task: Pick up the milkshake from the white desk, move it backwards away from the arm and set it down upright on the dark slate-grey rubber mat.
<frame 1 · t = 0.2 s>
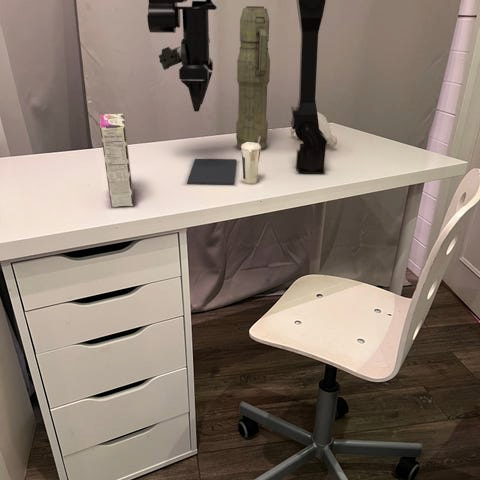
hand: (198, 107, 124), 15 cm above the table, tool pointing down, fingers open, 9 cm apart
mat: (213, 172, 129), on the table
milkshake: (251, 182, 123), on the table
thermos: (251, 148, 151), on the table
superhero figure: (315, 144, 155), on the table
candy bar box: (121, 199, 112), on the table
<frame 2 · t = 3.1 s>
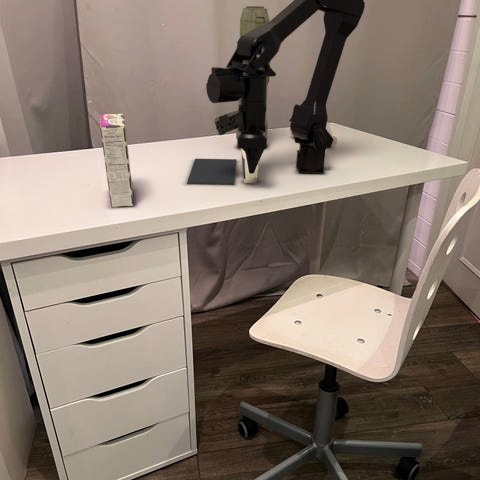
hand: (251, 170, 122), 3 cm above the table, tool pointing down, fingers closed on milkshake, 4 cm apart
milkshake: (251, 182, 123), on the table, touching gripper
everything else where it was.
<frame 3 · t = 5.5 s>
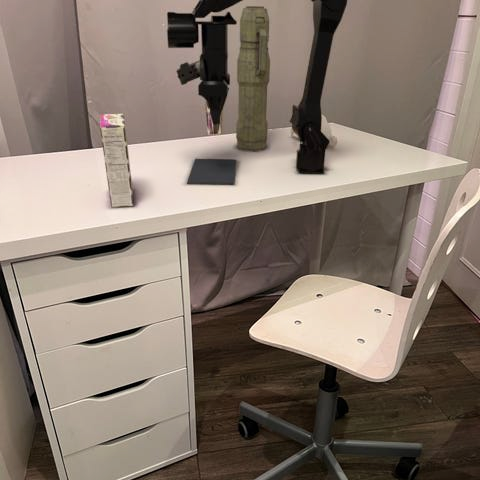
hand: (215, 122, 122), 12 cm above the table, tool pointing down, fingers closed on milkshake, 4 cm apart
milkshake: (215, 134, 124), point 9 cm above the table, touching gripper
everything else where it was.
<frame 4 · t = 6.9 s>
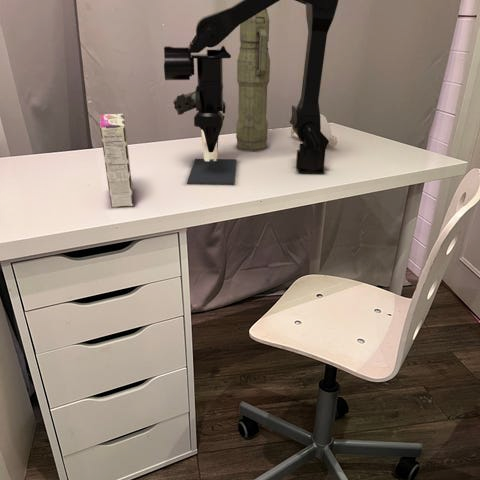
hand: (211, 149, 127), 5 cm above the table, tool pointing down, fingers closed on milkshake, 4 cm apart
milkshake: (211, 160, 128), point 3 cm above the table, touching gripper
everything else where it was.
when the fingers open (3 cm above the table, at t = 7.9 s): milkshake stays where it is, resting on mat.
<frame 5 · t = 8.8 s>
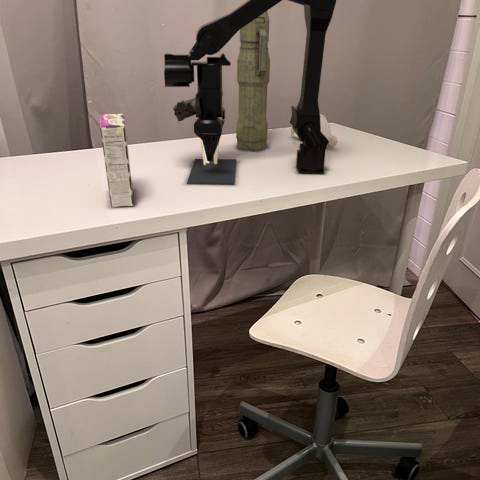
hand: (211, 156, 127), 4 cm above the table, tool pointing down, fingers open, 9 cm apart
milkshake: (212, 170, 129), resting on mat
everything else where it was.
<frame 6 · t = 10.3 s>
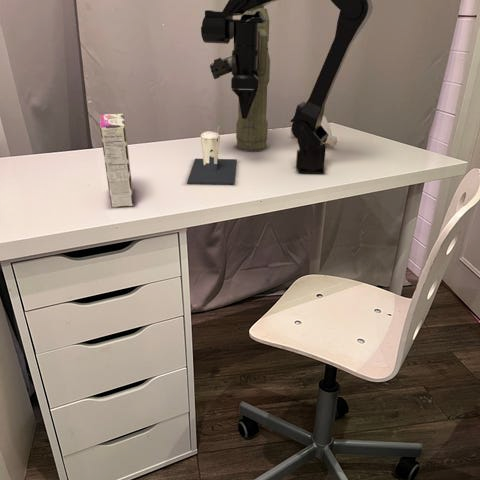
hand: (244, 114, 130), 12 cm above the table, tool pointing down, fingers open, 9 cm apart
nothing on the table moved.
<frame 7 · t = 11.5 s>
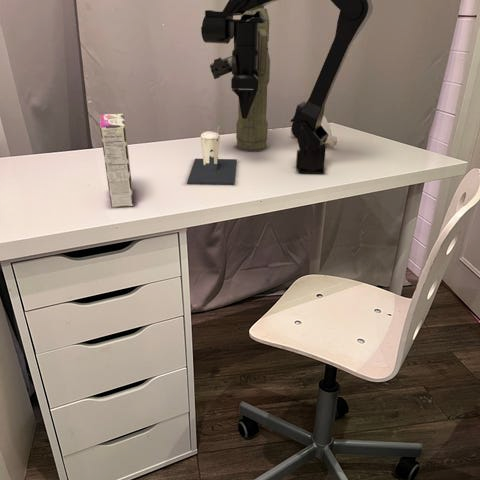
hand: (244, 114, 130), 12 cm above the table, tool pointing down, fingers open, 9 cm apart
nothing on the table moved.
at the end: milkshake inside the target area on the mat (0.4 cm from its centre), point 0.4 cm above the mat's base; milkshake tilted 0°; the gripper is holding nothing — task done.
